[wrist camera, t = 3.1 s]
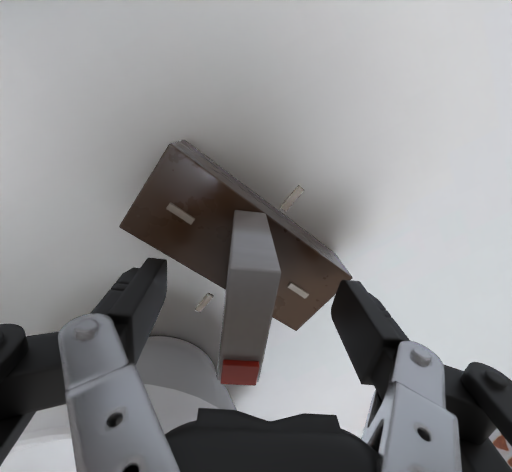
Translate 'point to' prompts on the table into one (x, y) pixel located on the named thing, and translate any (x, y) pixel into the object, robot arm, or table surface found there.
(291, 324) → the base
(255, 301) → the tap handle
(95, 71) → the table surface
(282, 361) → the table surface
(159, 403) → the bowl
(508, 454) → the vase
